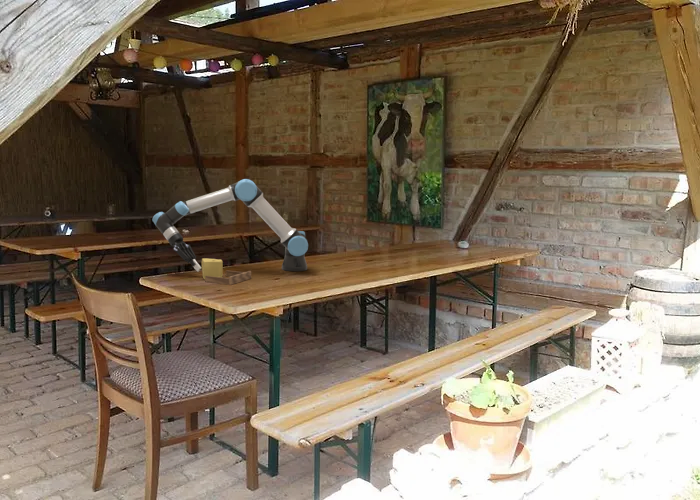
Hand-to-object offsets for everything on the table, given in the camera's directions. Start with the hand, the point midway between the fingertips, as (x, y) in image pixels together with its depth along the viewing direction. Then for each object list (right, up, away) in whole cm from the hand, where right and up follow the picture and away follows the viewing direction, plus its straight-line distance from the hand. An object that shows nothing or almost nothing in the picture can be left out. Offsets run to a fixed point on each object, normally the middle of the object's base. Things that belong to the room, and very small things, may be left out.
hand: (199, 269), depth 329 cm
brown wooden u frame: (+16, -5, -5) cm, 18 cm away
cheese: (+7, -5, -1) cm, 9 cm away
